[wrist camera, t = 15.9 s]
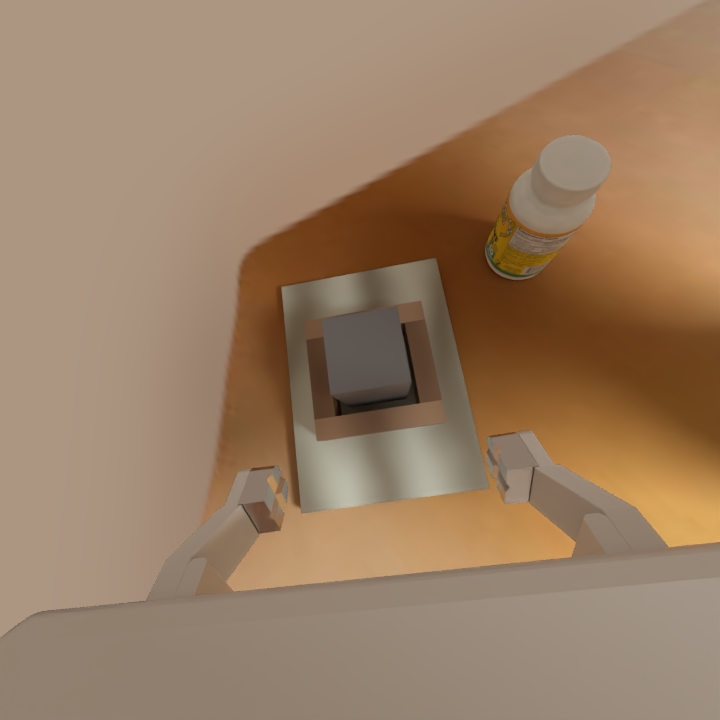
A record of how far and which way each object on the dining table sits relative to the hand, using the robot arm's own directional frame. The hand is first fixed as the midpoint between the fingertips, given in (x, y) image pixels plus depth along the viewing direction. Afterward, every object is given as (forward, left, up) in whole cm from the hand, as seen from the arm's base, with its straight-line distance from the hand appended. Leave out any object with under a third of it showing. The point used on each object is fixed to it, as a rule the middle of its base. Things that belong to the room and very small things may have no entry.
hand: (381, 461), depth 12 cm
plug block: (0, -6, -12) cm, 13 cm away
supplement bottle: (-14, -15, -13) cm, 24 cm away
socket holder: (0, -6, -13) cm, 14 cm away
